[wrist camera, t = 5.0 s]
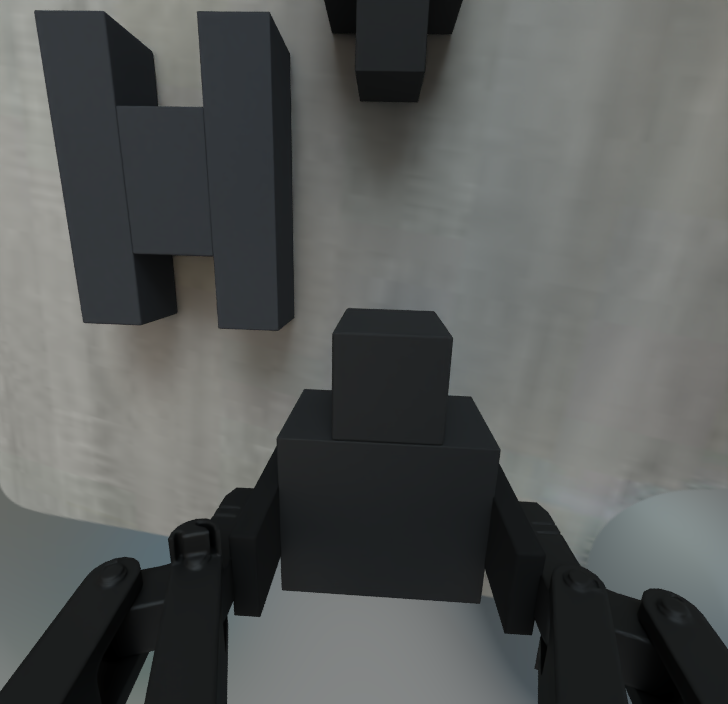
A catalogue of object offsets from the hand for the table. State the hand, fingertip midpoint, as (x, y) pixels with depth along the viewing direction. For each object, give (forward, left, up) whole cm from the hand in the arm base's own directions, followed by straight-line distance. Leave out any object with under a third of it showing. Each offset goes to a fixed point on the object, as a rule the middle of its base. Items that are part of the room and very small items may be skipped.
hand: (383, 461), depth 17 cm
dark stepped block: (0, -2, 0) cm, 2 cm away
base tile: (+12, -12, -12) cm, 21 cm away
